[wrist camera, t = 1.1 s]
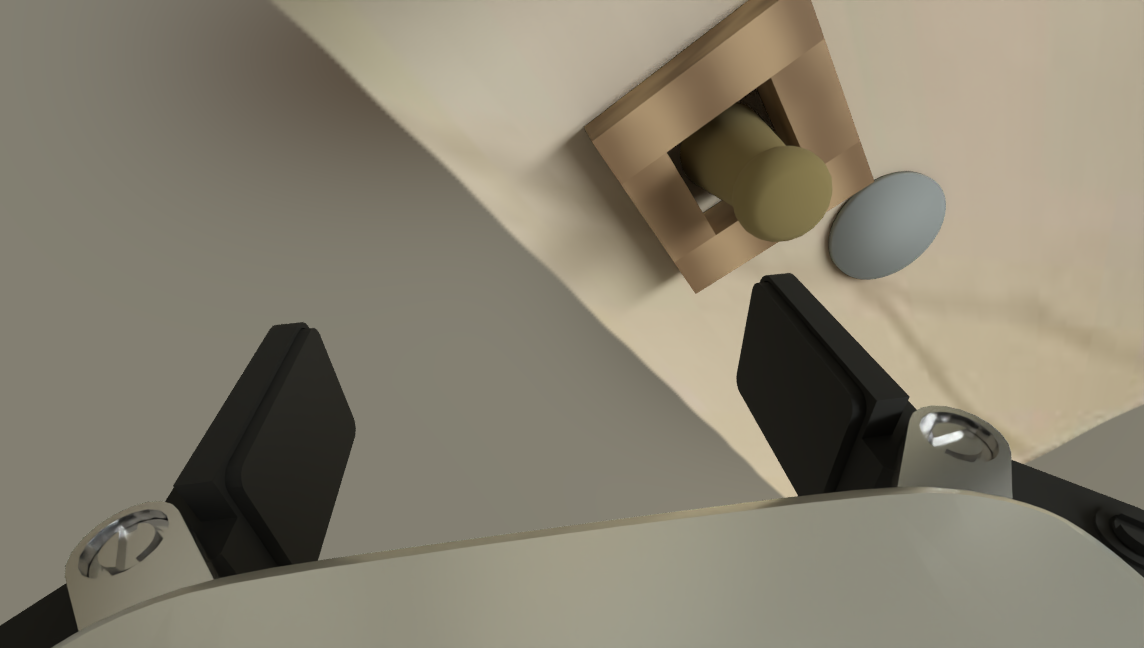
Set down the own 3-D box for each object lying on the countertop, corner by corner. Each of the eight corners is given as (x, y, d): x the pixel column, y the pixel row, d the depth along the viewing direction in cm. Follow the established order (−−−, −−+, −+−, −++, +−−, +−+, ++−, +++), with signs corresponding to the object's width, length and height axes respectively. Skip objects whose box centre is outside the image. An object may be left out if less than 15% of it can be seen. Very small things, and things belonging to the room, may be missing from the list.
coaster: (926, 146, 38) (932, 149, 38) (950, 234, 43) (955, 238, 42) (813, 218, 40) (817, 221, 40) (847, 294, 45) (851, 298, 44)
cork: (697, 203, 38) (759, 276, 29) (666, 132, 35) (724, 189, 26) (774, 161, 37) (862, 223, 28) (748, 82, 34) (839, 124, 25)
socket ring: (775, -21, 31) (804, -19, 28) (846, 165, 38) (874, 181, 35) (583, 127, 34) (591, 141, 31) (682, 271, 42) (695, 293, 39)
